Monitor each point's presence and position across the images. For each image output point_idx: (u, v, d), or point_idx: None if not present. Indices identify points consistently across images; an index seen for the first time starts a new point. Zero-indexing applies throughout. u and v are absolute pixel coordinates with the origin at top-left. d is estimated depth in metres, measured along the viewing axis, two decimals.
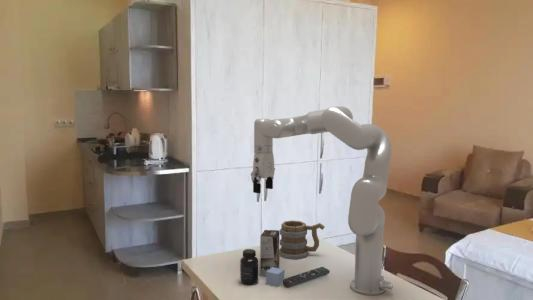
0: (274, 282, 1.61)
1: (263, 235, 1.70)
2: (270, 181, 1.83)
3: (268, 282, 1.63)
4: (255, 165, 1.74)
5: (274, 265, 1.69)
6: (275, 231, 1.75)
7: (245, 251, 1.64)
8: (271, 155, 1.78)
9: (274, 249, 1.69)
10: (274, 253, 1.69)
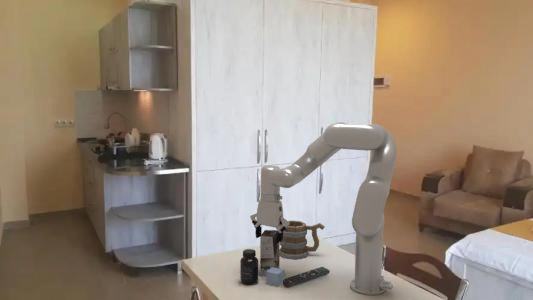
0: (274, 282, 1.61)
1: (263, 235, 1.70)
2: (260, 229, 1.76)
3: (268, 281, 1.63)
4: (280, 214, 1.69)
5: (274, 265, 1.69)
6: (275, 231, 1.75)
7: (245, 251, 1.64)
8: None
9: (274, 249, 1.69)
10: (274, 253, 1.69)
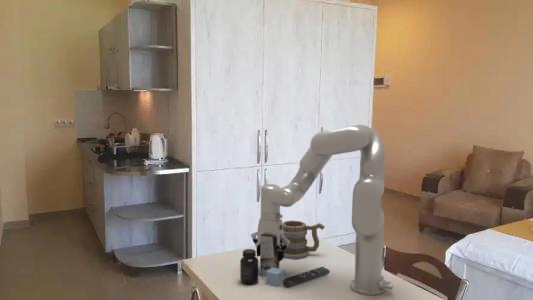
0: (274, 282, 1.61)
1: (263, 235, 1.70)
2: None
3: (268, 281, 1.63)
4: (280, 233, 1.70)
5: (274, 265, 1.69)
6: None
7: (245, 251, 1.64)
8: None
9: (274, 249, 1.69)
10: (274, 253, 1.69)
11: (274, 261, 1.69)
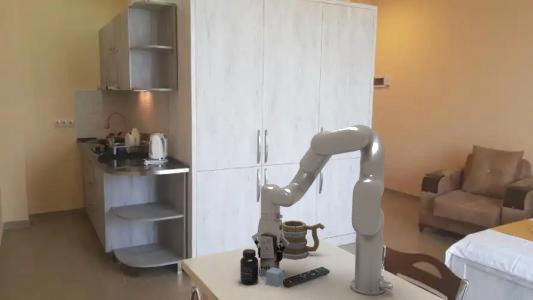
0: (274, 282, 1.61)
1: (263, 235, 1.70)
2: None
3: (268, 281, 1.63)
4: (280, 233, 1.70)
5: (274, 265, 1.69)
6: None
7: (245, 251, 1.64)
8: None
9: (274, 249, 1.69)
10: (274, 253, 1.69)
11: (274, 261, 1.69)
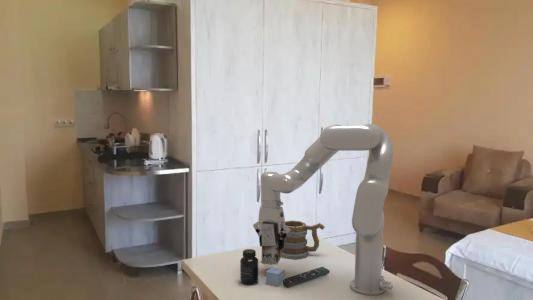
0: (274, 282, 1.61)
1: (264, 223, 1.69)
2: None
3: (268, 281, 1.63)
4: (281, 220, 1.69)
5: (276, 252, 1.68)
6: None
7: (245, 251, 1.64)
8: None
9: (275, 236, 1.68)
10: (275, 240, 1.68)
11: (276, 248, 1.68)
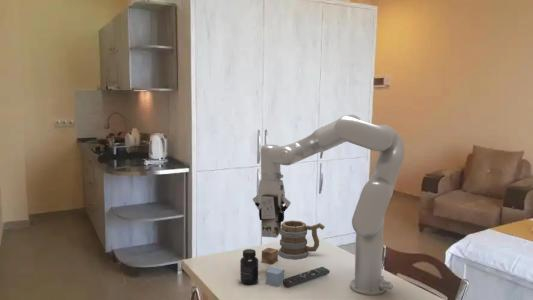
0: (274, 282, 1.61)
1: (264, 195, 1.68)
2: None
3: (268, 281, 1.63)
4: (281, 193, 1.68)
5: (276, 225, 1.67)
6: None
7: (245, 251, 1.64)
8: None
9: (275, 209, 1.67)
10: (275, 213, 1.67)
11: (275, 221, 1.67)
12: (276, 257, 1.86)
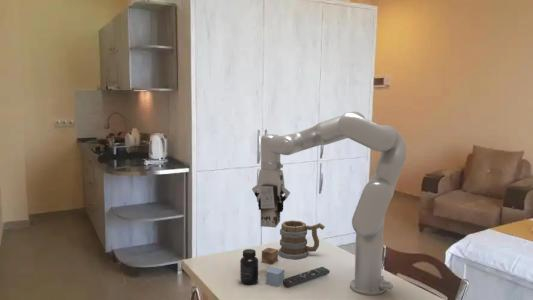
0: (274, 282, 1.61)
1: (263, 185, 1.68)
2: None
3: (268, 281, 1.63)
4: (281, 183, 1.67)
5: (275, 215, 1.67)
6: None
7: (245, 251, 1.64)
8: None
9: (275, 199, 1.66)
10: (275, 203, 1.66)
11: (275, 211, 1.67)
12: (276, 257, 1.86)
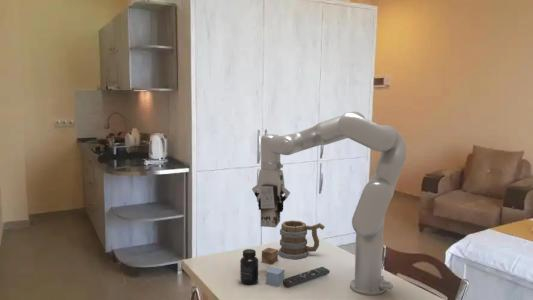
0: (274, 282, 1.61)
1: (263, 185, 1.68)
2: None
3: (268, 281, 1.63)
4: (281, 183, 1.67)
5: (275, 215, 1.67)
6: None
7: (245, 251, 1.64)
8: None
9: (275, 199, 1.66)
10: (275, 203, 1.66)
11: (275, 211, 1.67)
12: (276, 257, 1.86)
